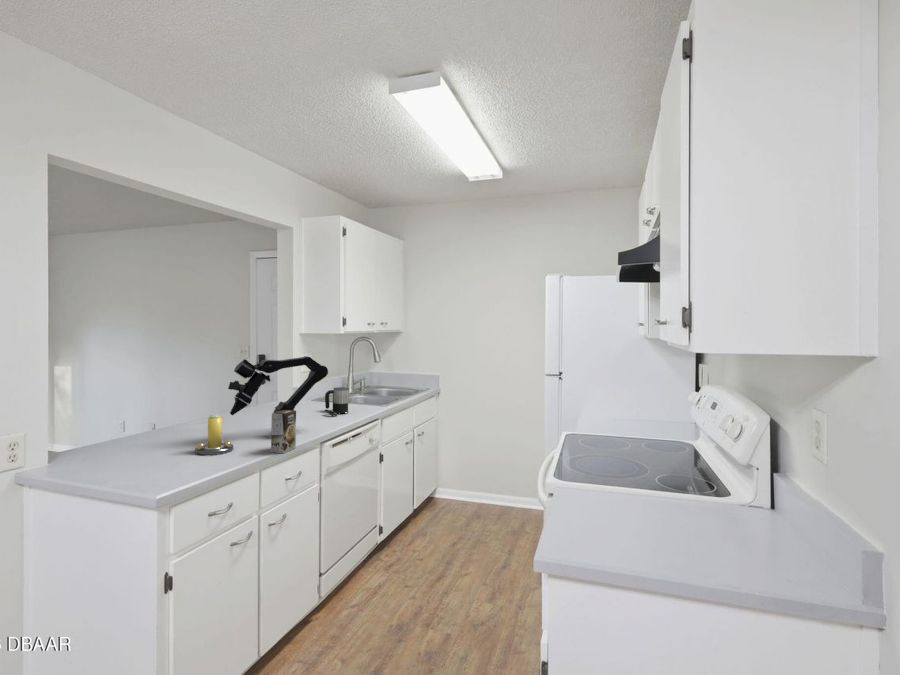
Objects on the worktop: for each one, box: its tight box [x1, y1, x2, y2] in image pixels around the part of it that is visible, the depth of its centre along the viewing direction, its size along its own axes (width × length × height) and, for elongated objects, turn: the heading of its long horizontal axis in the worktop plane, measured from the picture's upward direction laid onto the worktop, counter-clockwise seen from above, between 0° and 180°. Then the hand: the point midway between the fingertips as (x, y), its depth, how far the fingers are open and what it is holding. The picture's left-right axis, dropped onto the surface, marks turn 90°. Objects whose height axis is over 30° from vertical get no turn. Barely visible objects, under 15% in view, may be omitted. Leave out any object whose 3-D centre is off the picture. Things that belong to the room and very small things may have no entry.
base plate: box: [194, 440, 234, 456], centre depth 194 cm, size 14×14×4 cm
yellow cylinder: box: [207, 414, 223, 449], centre depth 194 cm, size 5×5×13 cm
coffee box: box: [270, 409, 297, 454], centre depth 197 cm, size 9×6×16 cm
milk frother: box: [324, 386, 350, 417], centre depth 277 cm, size 14×16×15 cm
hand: (231, 414), depth 207 cm, fingers open, 9 cm apart
